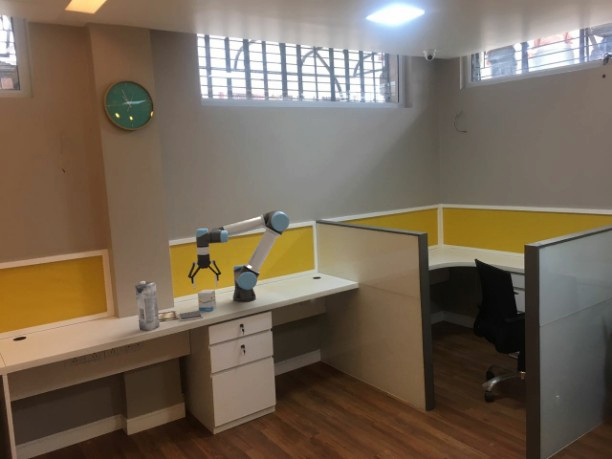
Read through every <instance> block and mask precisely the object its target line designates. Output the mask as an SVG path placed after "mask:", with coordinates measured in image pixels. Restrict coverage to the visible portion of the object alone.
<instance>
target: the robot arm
mask: <svg viewBox="0 0 612 459" xmlns="http://www.w3.org/2000/svg"><path fill="white" fill-rule="evenodd" d="M289 226H290V218H289V216H288V215H287V214H286V213H285V212H283V211H280V210H276V209H275V210H272V211H269V212H266V213H261V214H260V215H259V216H256V217H254V218H250V219H246V220H242V221H238V222H235V223H231V224H227V225H224V226H220V227H219V226H218V227H214V228H212V229H210V231H209V229H208V228H206V227H205V228H204V227H203V228H202V227H201V228H197V229H196V230H195V243H196V256H197V257H196V258H197V261H196V262H195V261H192V265H191V268H190V270H189V272H188V275H187V277H188V278H189V279H190V280H191V284H193V289H194V290H195V289H196V280H195V277H196V275H197V274H198V272H200V270H201V269H202V270H203V269H206V270H207V269H209V270H211V271H212V273H213V274H215V275H214V280H215V282H214V283H215V287H218V281H219V280H220V279H219V277H220V275H222V272H221V271H220V269H219V267H218V266H217V263H216V260H214V259H213V260H211V258H210V257H211V255H210V244H223V243H228V241H229V238H230V237H233V236H237V235H241V234H246V233H249V232H252V231H256V230H260V229H264V230H265V232H263V235H262V236H261V237H260V239H259V242H258V243H257V246H256V247H255V249H254V251H253V252H252V255H251V256H250V258H249V260H248V262H247V263H244V264H239V265H234V266H233V269H232V270H233V278H234V279H233V280H234V281H233V282H234V290H233V293H232V294H233V295H232V301H233V302H235V303H248V302H252V301H255V300H256V299H257V295H256V292H255V289H254V288H255V287H256V285H257V282H258V278H259V277H260V274H261V271H260V270H261V268H262V266H263V263H264V262H265V260H266V258H268V255H269V253H270V251H271V250H272V249H273V246H274V244H275V242H276V240H277V238H278V237H281V236H282V235H283V233H284V231H286V230H287V229H288V228H289ZM211 264H212V265H213V266H214V268H215V269H216V270H214V268H213V267H212V266H211ZM196 266H197V267H196ZM195 267H196V269H195ZM194 270H195V271H194Z"/></svg>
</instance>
